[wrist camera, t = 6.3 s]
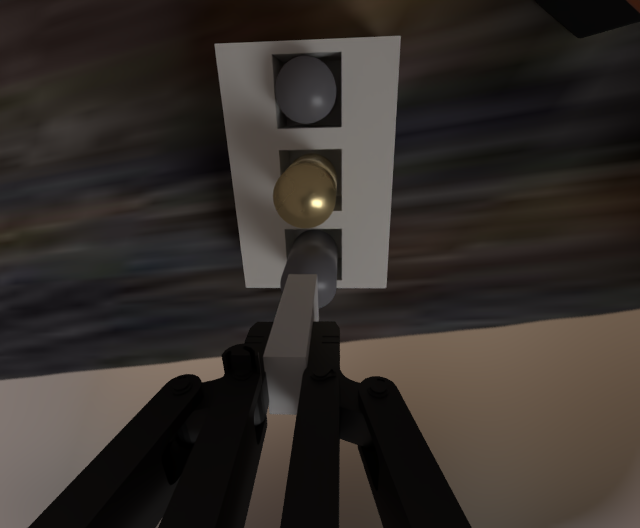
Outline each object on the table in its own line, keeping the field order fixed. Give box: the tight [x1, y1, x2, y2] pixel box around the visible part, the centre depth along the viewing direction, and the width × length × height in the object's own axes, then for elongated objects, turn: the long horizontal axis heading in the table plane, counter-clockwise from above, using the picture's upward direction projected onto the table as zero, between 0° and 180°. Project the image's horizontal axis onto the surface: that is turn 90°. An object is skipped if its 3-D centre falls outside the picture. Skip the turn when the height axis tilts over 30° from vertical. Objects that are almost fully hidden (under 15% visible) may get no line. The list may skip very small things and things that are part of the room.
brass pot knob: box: [273, 153, 337, 228], centre depth 20 cm, size 3×3×5 cm
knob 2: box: [280, 229, 338, 309], centre depth 22 cm, size 3×3×5 cm
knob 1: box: [275, 56, 337, 124], centre depth 21 cm, size 3×3×5 cm
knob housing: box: [214, 36, 401, 288], centre depth 24 cm, size 10×15×5 cm, turn 2°
